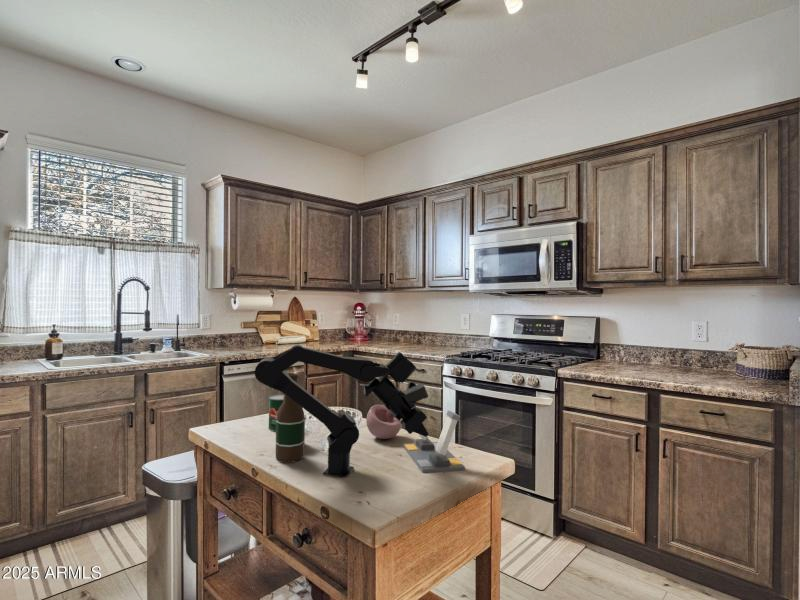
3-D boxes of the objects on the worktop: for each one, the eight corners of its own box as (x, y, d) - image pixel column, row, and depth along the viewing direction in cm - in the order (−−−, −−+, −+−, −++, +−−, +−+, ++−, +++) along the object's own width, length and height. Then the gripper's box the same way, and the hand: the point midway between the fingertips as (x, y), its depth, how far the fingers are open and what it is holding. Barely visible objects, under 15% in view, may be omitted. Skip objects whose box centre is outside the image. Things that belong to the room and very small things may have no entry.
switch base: (422, 472, 120) (422, 463, 120) (402, 446, 141) (402, 439, 141) (464, 469, 122) (465, 461, 122) (439, 444, 144) (439, 437, 144)
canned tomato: (270, 432, 153) (271, 399, 153) (266, 426, 160) (267, 395, 160) (293, 430, 156) (294, 398, 156) (289, 424, 164) (290, 393, 164)
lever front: (437, 457, 123) (453, 414, 124) (432, 452, 127) (447, 410, 128) (444, 460, 123) (460, 416, 124) (439, 454, 127) (454, 412, 128)
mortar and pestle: (386, 446, 141) (387, 409, 141) (358, 438, 148) (359, 403, 148) (409, 437, 150) (410, 403, 150) (381, 431, 157) (382, 398, 158)
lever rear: (424, 444, 136) (408, 408, 135) (420, 440, 141) (405, 404, 139) (431, 441, 137) (415, 404, 136) (426, 436, 141) (411, 401, 140)
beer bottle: (289, 465, 123) (291, 377, 123) (269, 459, 127) (271, 374, 127) (309, 457, 130) (311, 373, 130) (289, 452, 134) (291, 371, 134)
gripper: (420, 380, 114) (459, 423, 116) (402, 369, 132) (437, 406, 135) (388, 411, 112) (429, 454, 115) (375, 396, 130) (410, 433, 133)
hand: (427, 435), depth 124 cm, fingers closed
